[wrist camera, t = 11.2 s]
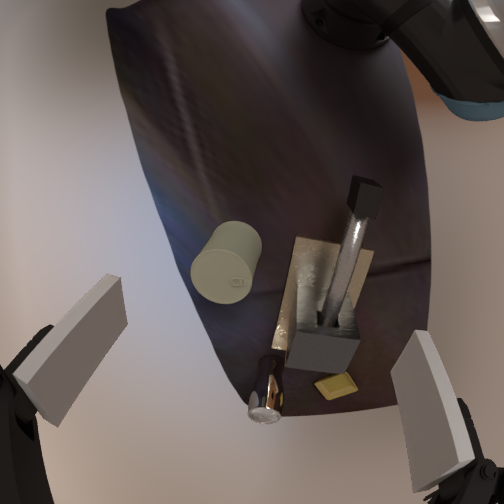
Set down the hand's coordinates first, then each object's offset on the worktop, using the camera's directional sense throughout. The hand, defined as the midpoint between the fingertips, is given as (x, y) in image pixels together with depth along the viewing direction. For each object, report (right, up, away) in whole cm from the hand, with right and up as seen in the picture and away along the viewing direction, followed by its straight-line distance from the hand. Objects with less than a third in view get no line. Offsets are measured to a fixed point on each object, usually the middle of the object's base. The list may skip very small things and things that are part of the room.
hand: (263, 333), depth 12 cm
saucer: (+20, -28, +52) cm, 63 cm away
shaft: (+13, +1, +30) cm, 33 cm away
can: (-3, +5, +40) cm, 40 cm away
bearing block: (+12, -6, +42) cm, 44 cm away
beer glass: (+4, -22, +51) cm, 56 cm away
